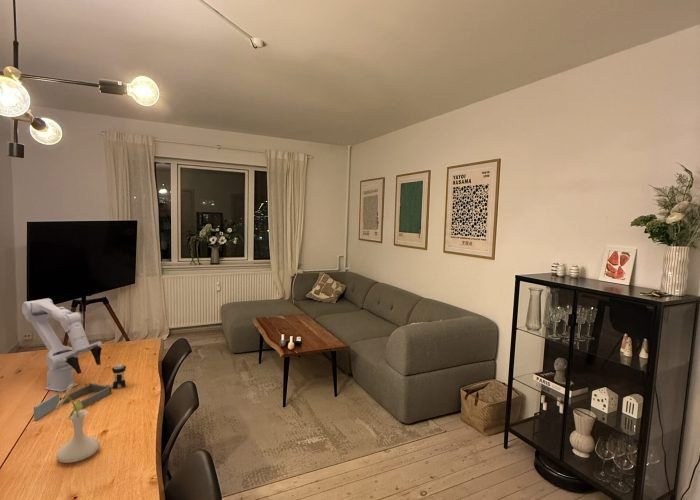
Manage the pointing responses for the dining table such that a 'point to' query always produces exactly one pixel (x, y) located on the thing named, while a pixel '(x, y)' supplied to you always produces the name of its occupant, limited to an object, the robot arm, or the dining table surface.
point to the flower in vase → (76, 435)
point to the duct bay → (101, 390)
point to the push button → (118, 376)
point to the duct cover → (46, 406)
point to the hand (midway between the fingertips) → (89, 368)
